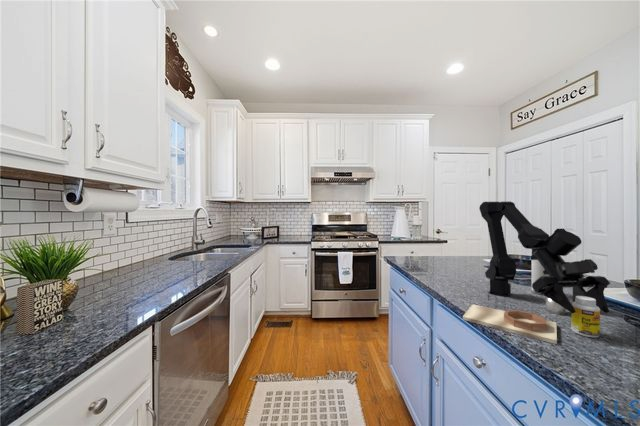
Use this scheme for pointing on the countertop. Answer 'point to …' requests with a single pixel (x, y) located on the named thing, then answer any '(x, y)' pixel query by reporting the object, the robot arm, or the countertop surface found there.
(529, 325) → the holder board
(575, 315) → the supplement bottle
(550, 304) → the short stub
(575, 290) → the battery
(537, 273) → the travel mug
